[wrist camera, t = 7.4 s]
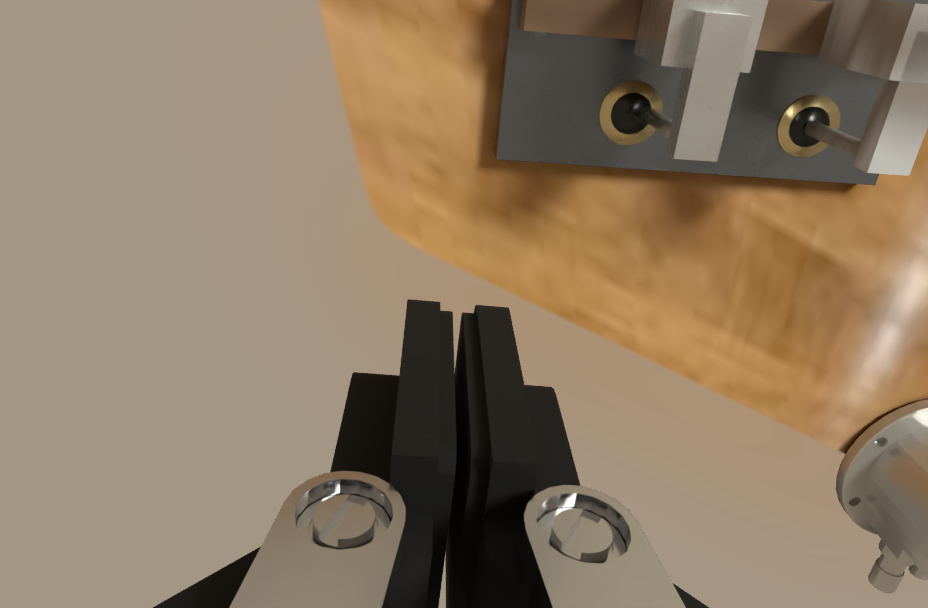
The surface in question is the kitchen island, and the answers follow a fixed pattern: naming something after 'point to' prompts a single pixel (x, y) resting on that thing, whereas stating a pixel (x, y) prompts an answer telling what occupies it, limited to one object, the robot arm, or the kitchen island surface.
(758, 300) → the kitchen island surface
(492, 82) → the kitchen island surface
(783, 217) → the kitchen island surface
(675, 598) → the robot arm
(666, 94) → the bolt plate
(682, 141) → the sliding leg
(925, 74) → the frame
